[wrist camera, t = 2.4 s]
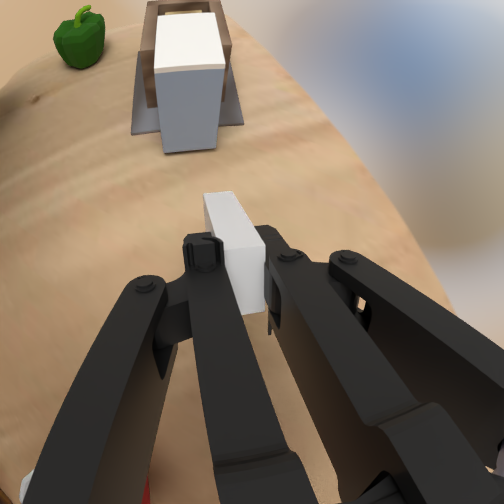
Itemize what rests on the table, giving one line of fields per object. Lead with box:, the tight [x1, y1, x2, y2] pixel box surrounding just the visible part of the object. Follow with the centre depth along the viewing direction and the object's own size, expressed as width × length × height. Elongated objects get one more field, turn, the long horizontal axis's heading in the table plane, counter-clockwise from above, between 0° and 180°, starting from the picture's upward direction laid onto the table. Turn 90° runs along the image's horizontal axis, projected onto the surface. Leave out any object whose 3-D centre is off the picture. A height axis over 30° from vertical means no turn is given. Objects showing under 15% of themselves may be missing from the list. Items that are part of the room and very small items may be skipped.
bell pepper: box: [53, 5, 105, 69], centre depth 34 cm, size 8×8×10 cm
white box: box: [154, 13, 226, 153], centre depth 30 cm, size 6×10×13 cm, turn 10°
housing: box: [131, 0, 244, 135], centre depth 34 cm, size 14×18×10 cm
